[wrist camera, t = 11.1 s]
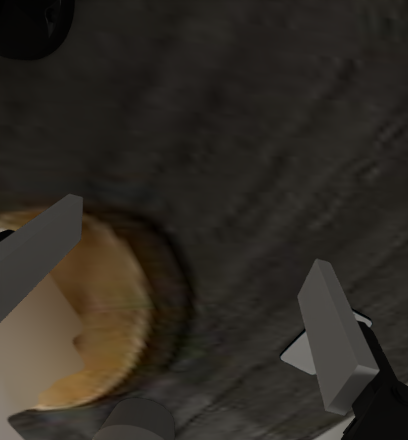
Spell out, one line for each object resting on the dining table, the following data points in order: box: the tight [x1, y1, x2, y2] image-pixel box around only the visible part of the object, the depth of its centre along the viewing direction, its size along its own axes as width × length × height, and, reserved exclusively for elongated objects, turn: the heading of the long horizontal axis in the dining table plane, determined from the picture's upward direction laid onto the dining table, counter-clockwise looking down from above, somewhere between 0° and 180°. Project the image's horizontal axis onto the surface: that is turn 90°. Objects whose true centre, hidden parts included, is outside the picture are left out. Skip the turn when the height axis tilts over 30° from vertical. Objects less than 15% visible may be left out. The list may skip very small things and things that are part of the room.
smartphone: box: [280, 308, 372, 375], centre depth 52 cm, size 8×1×16 cm
